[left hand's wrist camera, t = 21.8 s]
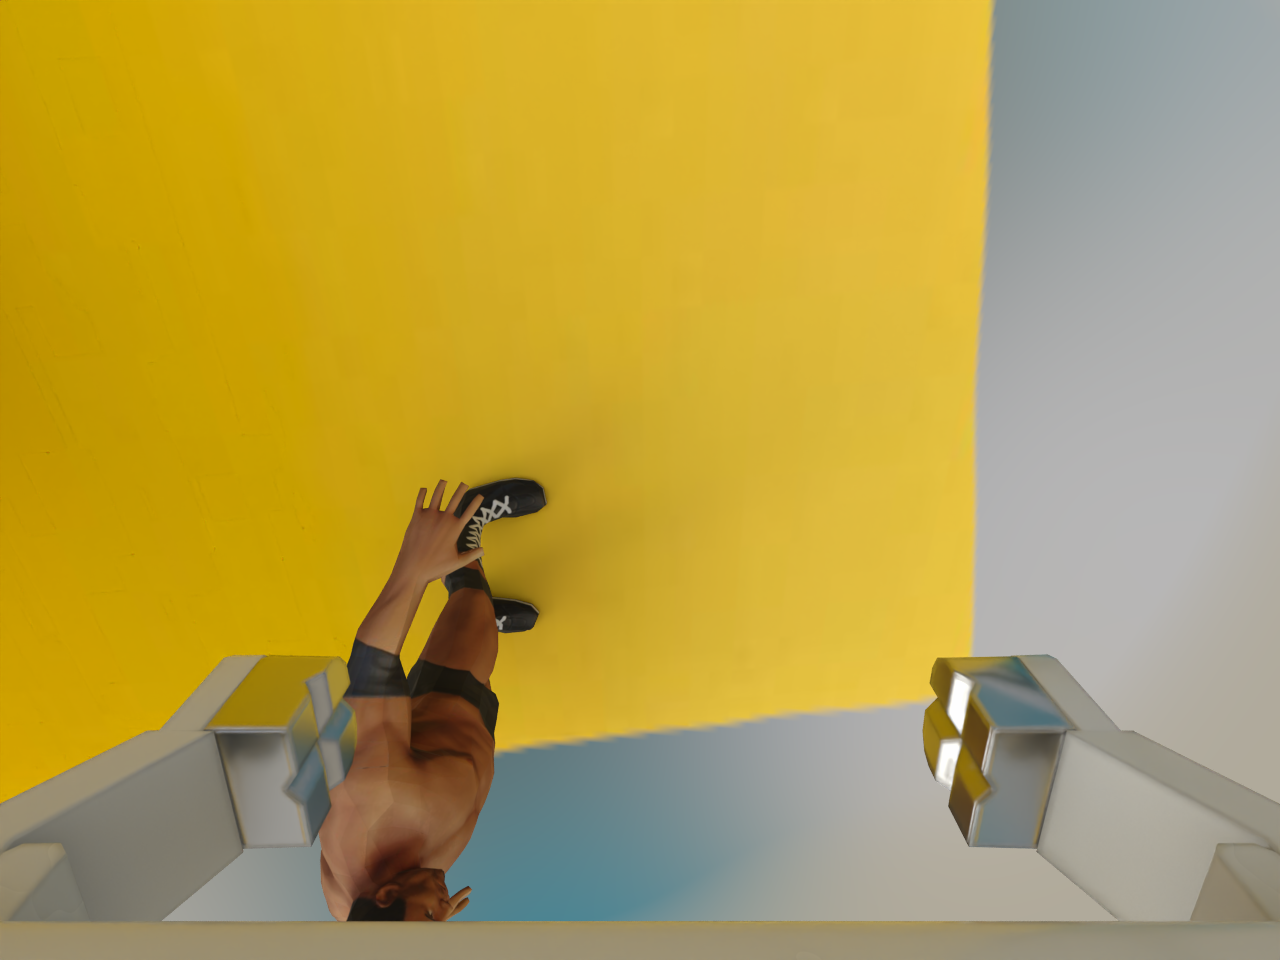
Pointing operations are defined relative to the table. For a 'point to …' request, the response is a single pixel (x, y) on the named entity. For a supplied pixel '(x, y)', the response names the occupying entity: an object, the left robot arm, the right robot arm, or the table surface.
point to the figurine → (423, 717)
